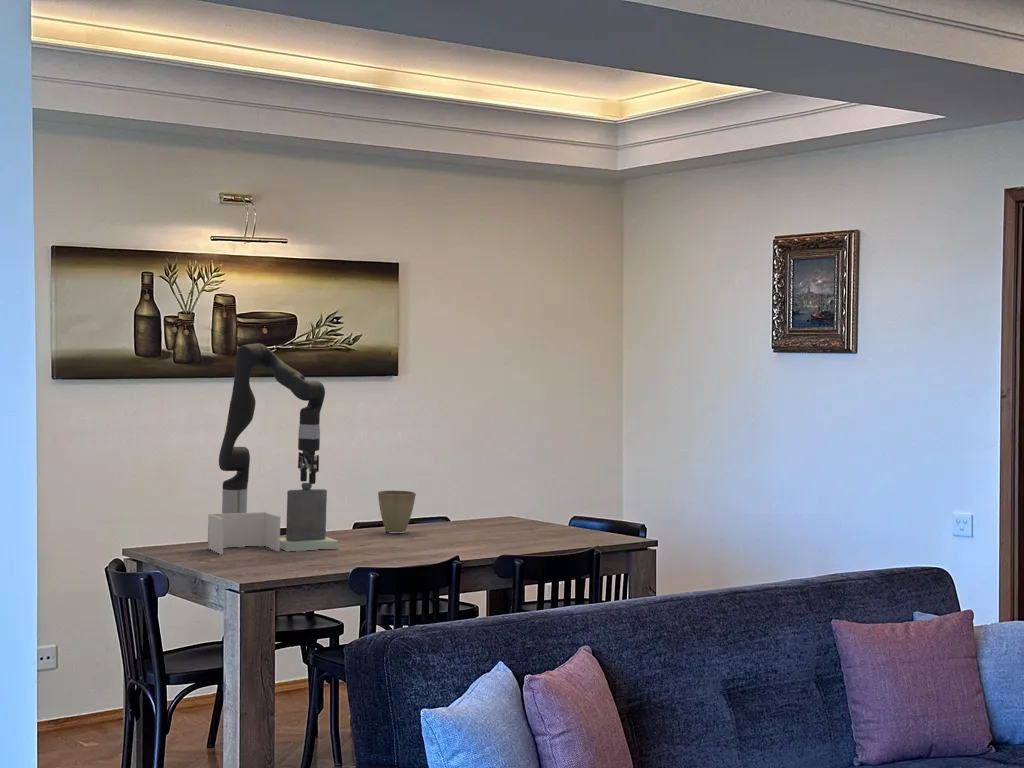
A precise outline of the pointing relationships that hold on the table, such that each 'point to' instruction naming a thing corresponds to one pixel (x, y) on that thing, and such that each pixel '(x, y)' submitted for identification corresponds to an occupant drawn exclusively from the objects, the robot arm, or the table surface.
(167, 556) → the table surface
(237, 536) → the bay
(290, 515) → the flask
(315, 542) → the stand
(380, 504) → the plant pot
